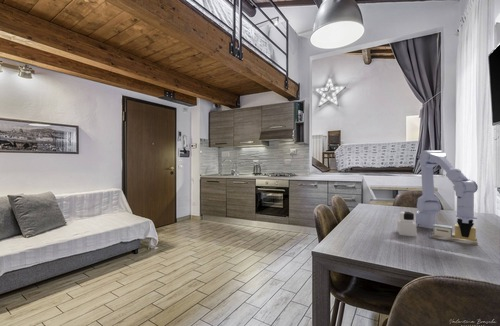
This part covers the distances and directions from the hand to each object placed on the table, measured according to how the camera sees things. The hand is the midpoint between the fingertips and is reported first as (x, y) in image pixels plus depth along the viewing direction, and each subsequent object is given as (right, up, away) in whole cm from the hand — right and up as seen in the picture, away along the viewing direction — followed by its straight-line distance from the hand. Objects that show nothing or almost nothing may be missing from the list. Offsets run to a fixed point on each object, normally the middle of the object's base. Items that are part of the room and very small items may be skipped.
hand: (465, 235), depth 107 cm
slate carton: (-6, -2, +5) cm, 8 cm away
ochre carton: (0, -1, 0) cm, 1 cm away
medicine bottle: (-20, -4, +11) cm, 23 cm away
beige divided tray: (0, -3, +6) cm, 7 cm away
